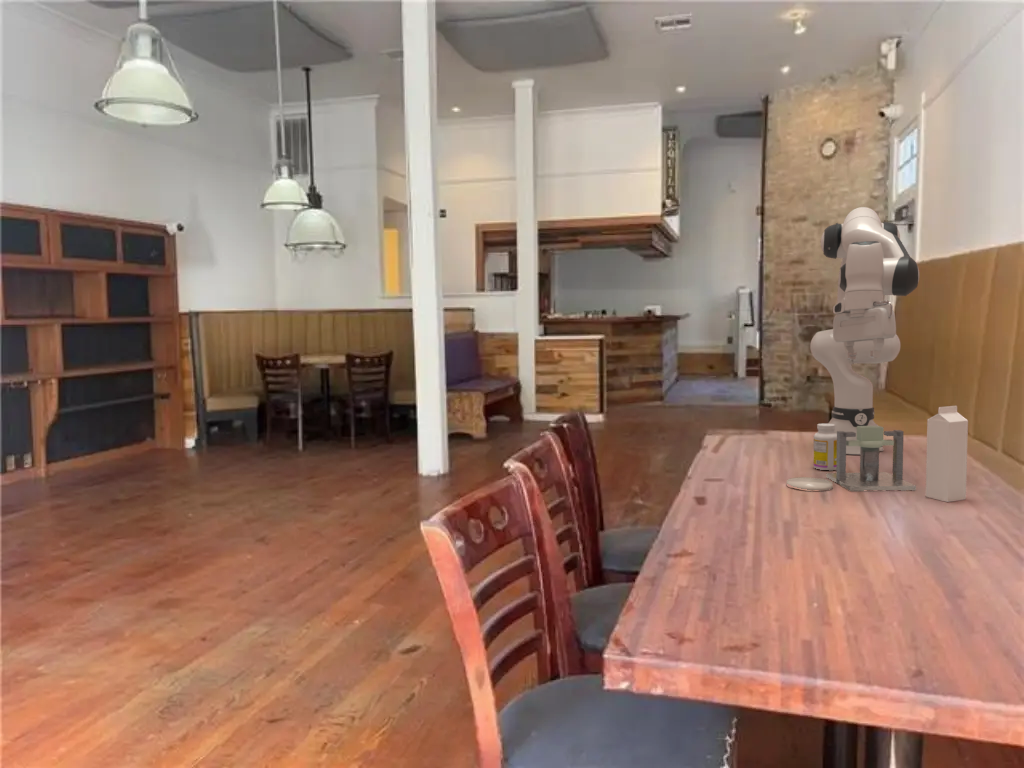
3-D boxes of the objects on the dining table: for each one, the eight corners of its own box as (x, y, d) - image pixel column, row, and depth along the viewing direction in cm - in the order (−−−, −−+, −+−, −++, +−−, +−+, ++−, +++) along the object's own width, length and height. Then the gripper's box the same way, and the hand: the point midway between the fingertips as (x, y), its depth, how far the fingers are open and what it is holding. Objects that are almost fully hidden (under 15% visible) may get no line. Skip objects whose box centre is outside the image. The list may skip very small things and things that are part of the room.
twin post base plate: (826, 477, 202) (826, 427, 201) (886, 476, 202) (887, 425, 200) (850, 491, 186) (851, 436, 185) (915, 490, 186) (917, 435, 184)
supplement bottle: (834, 466, 216) (834, 422, 215) (842, 471, 209) (842, 426, 208) (810, 466, 217) (810, 423, 216) (817, 471, 210) (817, 426, 209)
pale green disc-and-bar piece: (842, 444, 196) (842, 425, 196) (886, 443, 196) (887, 424, 195) (852, 448, 190) (852, 428, 190) (897, 447, 190) (898, 427, 189)
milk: (925, 497, 179) (926, 405, 177) (943, 494, 181) (945, 404, 180) (948, 502, 174) (949, 408, 172) (966, 499, 176) (968, 406, 174)
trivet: (780, 482, 198) (780, 477, 198) (823, 481, 198) (823, 477, 198) (794, 491, 187) (794, 487, 187) (839, 491, 187) (839, 486, 187)
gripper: (903, 299, 179) (902, 357, 179) (850, 308, 200) (849, 360, 199) (880, 298, 178) (879, 356, 178) (828, 307, 198) (828, 359, 198)
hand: (863, 358), depth 189 cm, fingers open, 8 cm apart
